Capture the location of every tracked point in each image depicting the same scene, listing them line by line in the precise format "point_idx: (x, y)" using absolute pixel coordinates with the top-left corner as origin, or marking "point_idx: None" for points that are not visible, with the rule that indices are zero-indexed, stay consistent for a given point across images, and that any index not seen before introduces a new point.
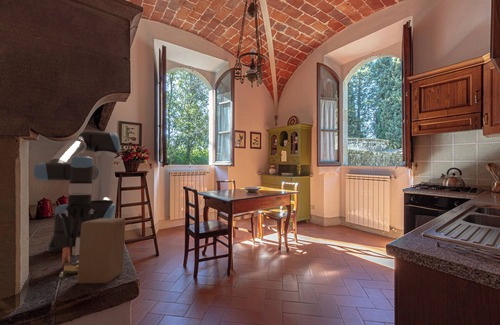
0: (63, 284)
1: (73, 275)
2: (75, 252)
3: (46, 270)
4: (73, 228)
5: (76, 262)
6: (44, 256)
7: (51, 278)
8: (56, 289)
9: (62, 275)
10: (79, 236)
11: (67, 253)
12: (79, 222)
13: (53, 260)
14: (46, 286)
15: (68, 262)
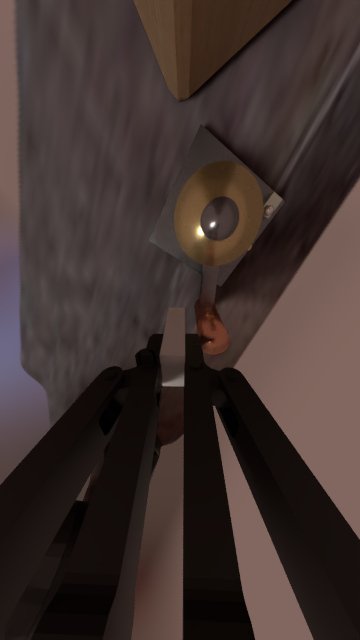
0: (300, 120)
1: (246, 166)
2: (184, 313)
3: None
4: (216, 436)
5: (229, 199)
6: (176, 426)
7: (263, 255)
8: (355, 65)
9: (273, 193)
10: (160, 372)
11: (213, 318)
12: (140, 524)
13: (179, 395)
14: (326, 171)
15: (206, 296)
